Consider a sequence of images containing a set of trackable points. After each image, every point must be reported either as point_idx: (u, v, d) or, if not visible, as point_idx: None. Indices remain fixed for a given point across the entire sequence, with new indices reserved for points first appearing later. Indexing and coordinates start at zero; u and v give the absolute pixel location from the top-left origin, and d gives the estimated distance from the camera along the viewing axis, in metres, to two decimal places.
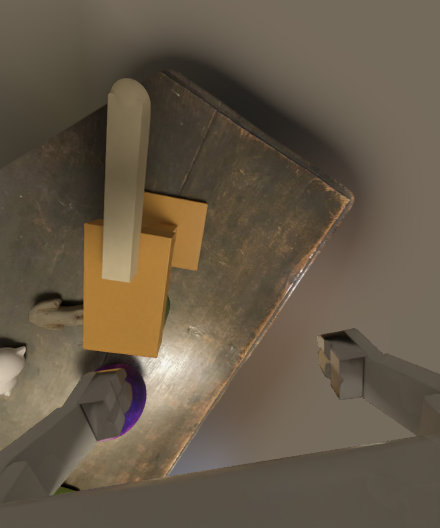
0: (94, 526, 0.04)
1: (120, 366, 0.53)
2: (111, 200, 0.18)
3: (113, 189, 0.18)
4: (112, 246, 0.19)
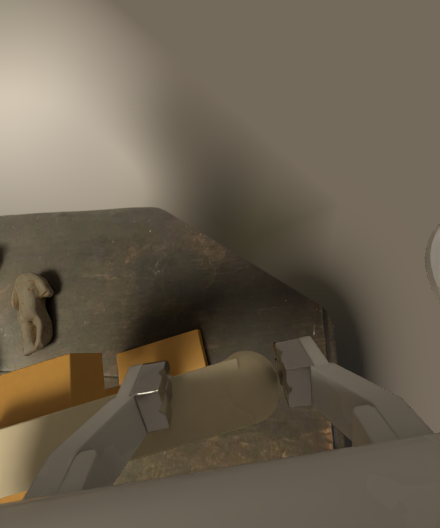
0: (94, 526, 0.04)
1: None
2: (73, 422, 0.10)
3: None
4: None
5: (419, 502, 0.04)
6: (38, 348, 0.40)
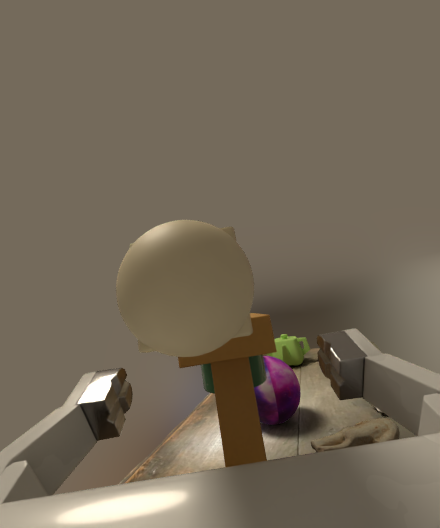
0: (94, 526, 0.04)
1: (273, 412, 0.51)
2: None
3: None
4: None
5: (419, 502, 0.04)
6: (318, 450, 0.39)
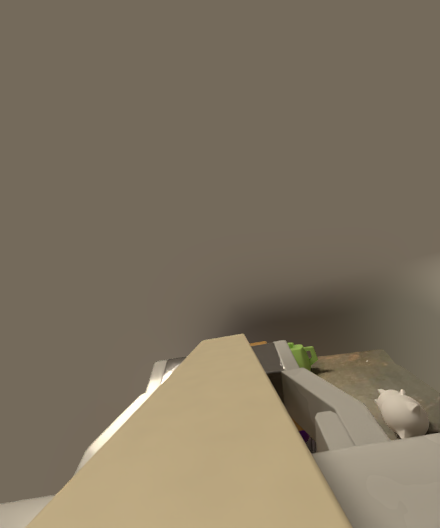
0: None
1: None
2: (237, 360, 0.06)
3: (233, 368, 0.06)
4: (229, 343, 0.10)
5: (419, 502, 0.04)
6: None
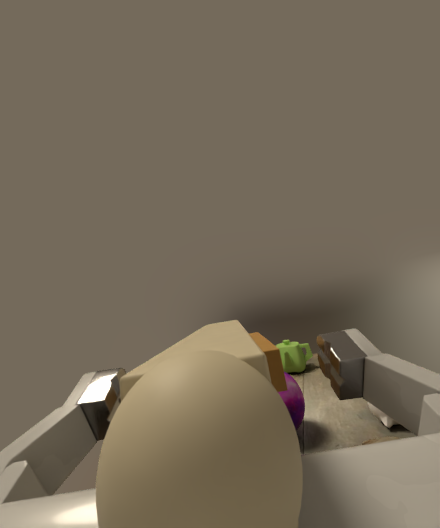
0: (94, 526, 0.04)
1: None
2: (230, 327, 0.11)
3: (227, 328, 0.10)
4: (226, 323, 0.14)
5: (419, 502, 0.04)
6: None
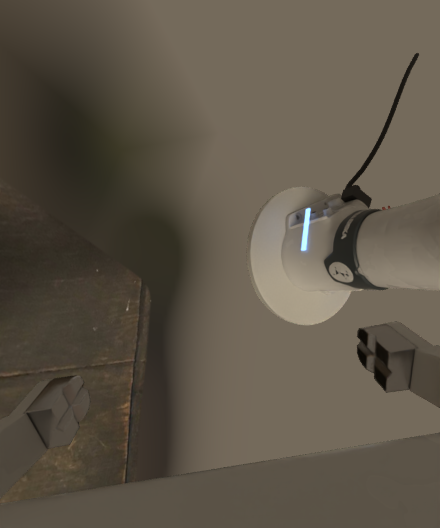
0: (94, 526, 0.04)
1: None
2: None
3: None
4: None
5: (419, 502, 0.04)
6: None
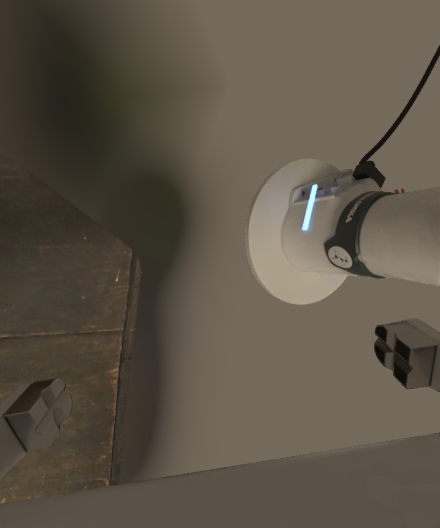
0: (94, 526, 0.04)
1: None
2: None
3: None
4: None
5: (419, 502, 0.04)
6: None
